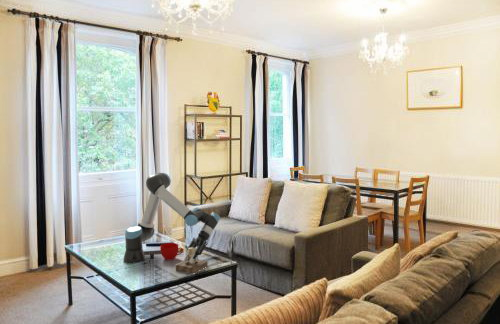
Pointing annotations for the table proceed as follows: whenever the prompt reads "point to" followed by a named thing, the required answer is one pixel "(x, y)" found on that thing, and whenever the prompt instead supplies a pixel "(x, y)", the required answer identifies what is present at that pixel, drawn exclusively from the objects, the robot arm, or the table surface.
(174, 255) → the ceramic cup
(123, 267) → the table surface
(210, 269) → the table surface
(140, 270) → the table surface
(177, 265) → the board
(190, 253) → the peg
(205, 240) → the robot arm
